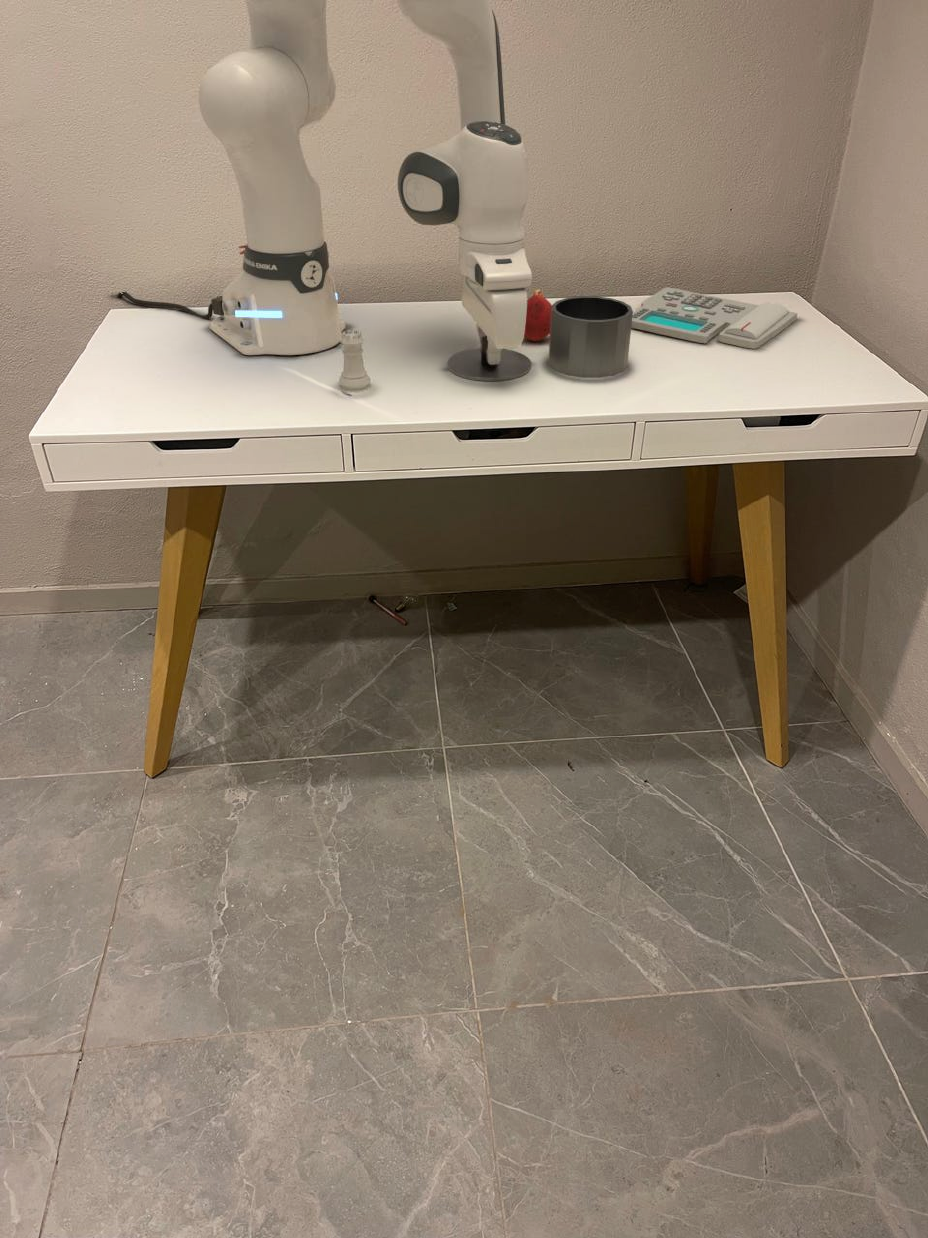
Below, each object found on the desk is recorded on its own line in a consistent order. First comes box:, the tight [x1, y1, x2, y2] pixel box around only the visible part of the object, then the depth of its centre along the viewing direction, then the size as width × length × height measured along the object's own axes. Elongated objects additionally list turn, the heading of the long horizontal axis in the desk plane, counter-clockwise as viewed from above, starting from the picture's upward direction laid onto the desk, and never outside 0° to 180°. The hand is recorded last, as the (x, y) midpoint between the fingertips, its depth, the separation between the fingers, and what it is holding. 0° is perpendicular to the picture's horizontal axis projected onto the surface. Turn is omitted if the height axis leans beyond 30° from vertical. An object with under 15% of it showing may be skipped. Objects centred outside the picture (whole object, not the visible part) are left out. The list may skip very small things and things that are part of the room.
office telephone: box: [631, 286, 798, 350], centre depth 155 cm, size 23×3×20 cm
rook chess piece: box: [338, 329, 372, 397], centre depth 130 cm, size 4×4×8 cm
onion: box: [524, 289, 553, 343], centre depth 146 cm, size 6×6×8 cm
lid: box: [447, 336, 532, 382], centre depth 138 cm, size 12×12×5 cm
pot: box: [547, 295, 634, 379], centre depth 138 cm, size 11×11×8 cm
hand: (489, 358), depth 138 cm, fingers closed on lid, 2 cm apart
